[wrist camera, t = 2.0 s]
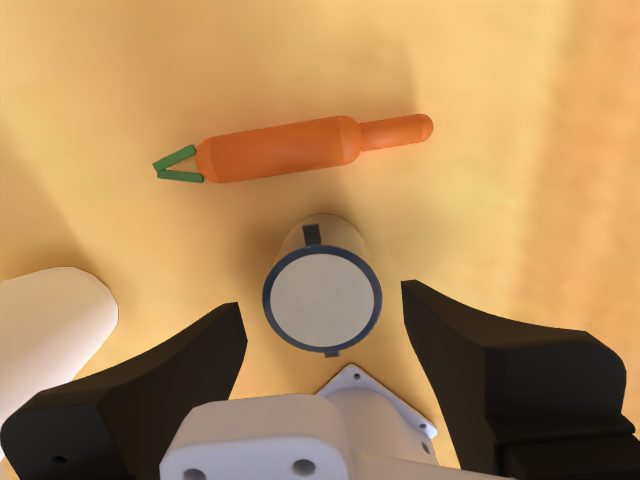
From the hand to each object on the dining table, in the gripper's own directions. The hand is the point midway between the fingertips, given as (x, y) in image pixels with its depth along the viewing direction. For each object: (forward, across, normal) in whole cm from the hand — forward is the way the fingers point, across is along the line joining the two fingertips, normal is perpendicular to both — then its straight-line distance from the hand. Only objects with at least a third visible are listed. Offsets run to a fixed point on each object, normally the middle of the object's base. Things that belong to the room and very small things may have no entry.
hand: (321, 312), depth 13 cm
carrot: (+8, 0, -7) cm, 10 cm away
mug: (+8, 0, 0) cm, 8 cm away
